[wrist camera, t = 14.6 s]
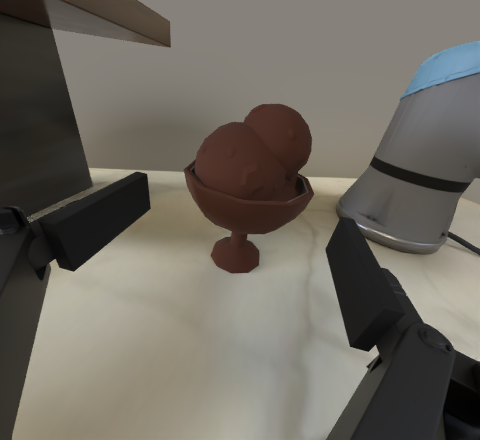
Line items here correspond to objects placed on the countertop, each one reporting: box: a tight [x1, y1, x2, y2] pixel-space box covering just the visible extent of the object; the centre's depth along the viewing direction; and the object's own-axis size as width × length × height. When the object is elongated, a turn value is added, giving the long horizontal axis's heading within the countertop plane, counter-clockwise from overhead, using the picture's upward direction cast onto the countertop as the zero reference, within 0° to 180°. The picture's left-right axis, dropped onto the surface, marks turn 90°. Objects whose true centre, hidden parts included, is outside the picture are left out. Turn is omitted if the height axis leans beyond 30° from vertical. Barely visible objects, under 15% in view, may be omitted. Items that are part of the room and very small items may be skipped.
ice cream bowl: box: [184, 104, 314, 273], centre depth 19 cm, size 11×11×15 cm
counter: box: [0, 0, 171, 217], centre depth 19 cm, size 17×16×20 cm
